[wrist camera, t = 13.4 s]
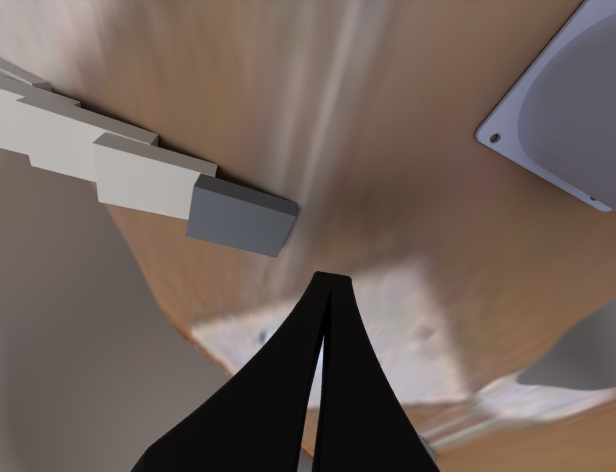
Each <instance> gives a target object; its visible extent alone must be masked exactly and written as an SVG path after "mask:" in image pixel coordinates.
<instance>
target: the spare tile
mask: <svg viewBox="0 0 616 472" xmlns="http://www.w3.org/2000/svg"><path fill="white" fill-rule="evenodd" d="M295 219H296V203H294V202H291V201H288V200H285V199H281V198H278V197H275V196H272V195H269V194H266V193H262V192H259V191H256V190H253V189H250V188H246V187H243V186H240V185H237V184H234V183H231V182H227V181H224V180H221V179H218V178H215V177H212V176H208V175H205V174H202V173H200V175H199V177H198V179H197V181H196V182H195V184H194V186H193V193H192V199H191V206H190V212H189V219H188V225H187V232H186V236H188V237H192V238H197V239H201V240H205V241H209V242H213V243H218V244H222V245H226V246H230V247H235V248H239V249H243V250H247V251H251V252H256V253H260V254H264V255H268V256H272V257H277V256H278V254H279V252H280V250H281V248H282V246H283V244H284V242H285V240H286V238H287V235H288V233H289V231H290V229H291V227H292V225H293V223H294V221H295Z"/></svg>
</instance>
